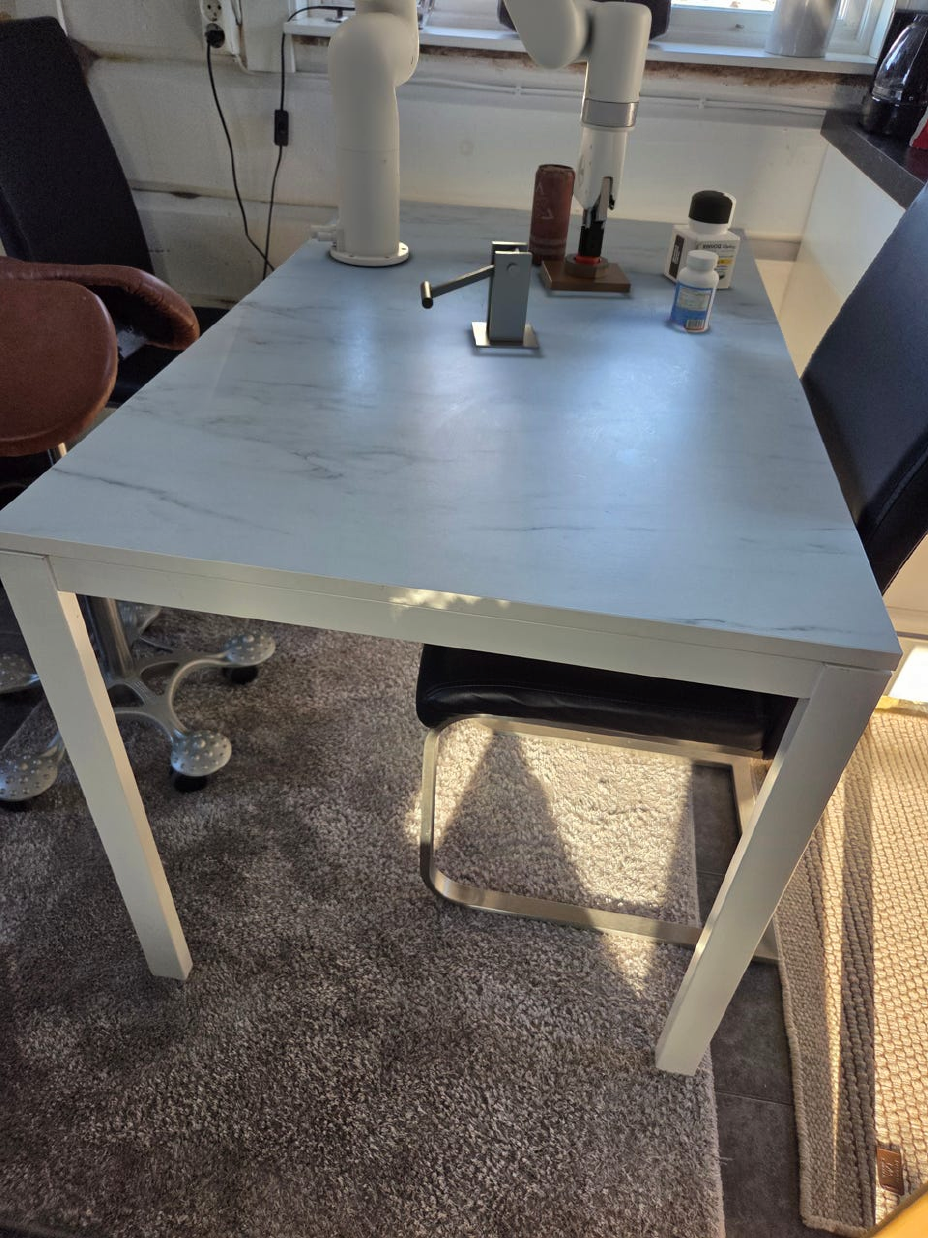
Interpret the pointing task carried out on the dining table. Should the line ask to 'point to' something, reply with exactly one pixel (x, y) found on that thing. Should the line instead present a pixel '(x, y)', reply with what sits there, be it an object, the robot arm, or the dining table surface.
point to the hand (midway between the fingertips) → (588, 255)
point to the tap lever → (454, 284)
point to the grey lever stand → (507, 300)
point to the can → (551, 212)
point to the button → (586, 259)
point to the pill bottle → (695, 291)
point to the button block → (584, 276)
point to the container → (705, 235)
